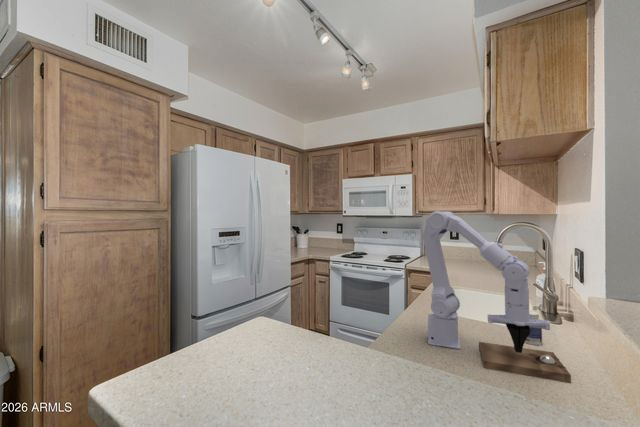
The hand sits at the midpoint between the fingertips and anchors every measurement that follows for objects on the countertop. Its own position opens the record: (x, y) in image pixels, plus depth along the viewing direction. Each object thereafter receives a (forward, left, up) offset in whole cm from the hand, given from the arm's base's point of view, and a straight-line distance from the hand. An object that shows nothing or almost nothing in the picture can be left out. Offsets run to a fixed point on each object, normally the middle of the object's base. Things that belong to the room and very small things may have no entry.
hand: (518, 351), depth 81 cm
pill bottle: (+7, +18, -4) cm, 20 cm away
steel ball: (+7, 0, -2) cm, 7 cm away
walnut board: (0, 0, -4) cm, 4 cm away
